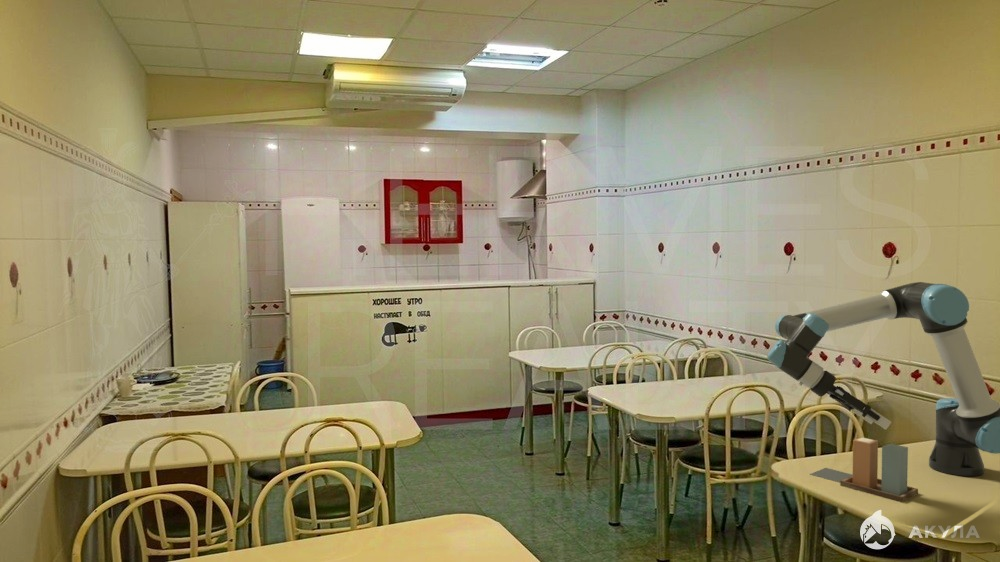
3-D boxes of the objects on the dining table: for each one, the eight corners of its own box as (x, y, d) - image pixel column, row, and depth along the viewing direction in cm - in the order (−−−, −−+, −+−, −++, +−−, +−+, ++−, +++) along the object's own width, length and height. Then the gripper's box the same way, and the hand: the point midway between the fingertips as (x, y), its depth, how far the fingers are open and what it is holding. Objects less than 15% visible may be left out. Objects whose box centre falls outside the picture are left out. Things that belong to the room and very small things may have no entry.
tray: (857, 479, 220) (857, 473, 220) (917, 495, 206) (918, 488, 206) (840, 487, 214) (840, 480, 214) (901, 504, 200) (901, 497, 200)
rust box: (860, 481, 217) (861, 436, 216) (877, 486, 213) (877, 440, 212) (852, 485, 214) (853, 439, 213) (869, 489, 210) (869, 443, 209)
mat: (825, 469, 230) (825, 467, 230) (856, 477, 222) (856, 475, 222) (809, 476, 224) (809, 474, 224) (840, 484, 216) (840, 482, 216)
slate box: (889, 489, 210) (890, 443, 209) (907, 494, 206) (907, 447, 205) (881, 493, 207) (882, 446, 206) (899, 498, 203) (900, 450, 202)
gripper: (801, 386, 224) (860, 428, 219) (819, 392, 200) (886, 439, 195) (815, 368, 224) (875, 409, 219) (835, 370, 199) (903, 417, 195)
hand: (881, 423), depth 207 cm, fingers open, 13 cm apart
